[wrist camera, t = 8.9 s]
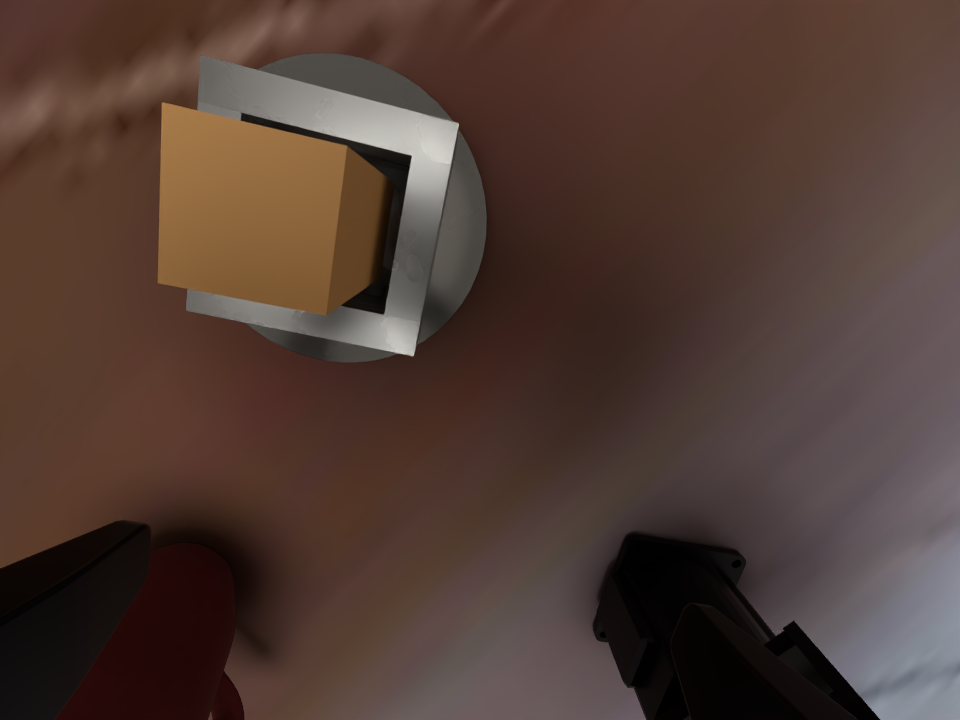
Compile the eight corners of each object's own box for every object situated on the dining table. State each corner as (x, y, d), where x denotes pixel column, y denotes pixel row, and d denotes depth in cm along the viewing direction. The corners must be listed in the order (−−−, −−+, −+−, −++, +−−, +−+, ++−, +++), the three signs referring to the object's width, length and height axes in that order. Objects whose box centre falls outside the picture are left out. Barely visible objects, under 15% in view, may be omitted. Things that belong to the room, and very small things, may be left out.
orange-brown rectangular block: (395, 183, 17) (347, 145, 9) (380, 277, 18) (326, 315, 10) (298, 161, 16) (161, 102, 9) (288, 258, 17) (157, 283, 10)
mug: (343, 616, 23) (268, 884, 14) (227, 692, 24) (82, 992, 15) (190, 473, 21) (-34, 683, 11) (66, 565, 22) (-239, 832, 12)
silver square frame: (513, 109, 17) (531, 73, 13) (453, 376, 20) (453, 413, 16) (213, 27, 16) (134, -40, 12) (194, 325, 19) (125, 352, 15)
